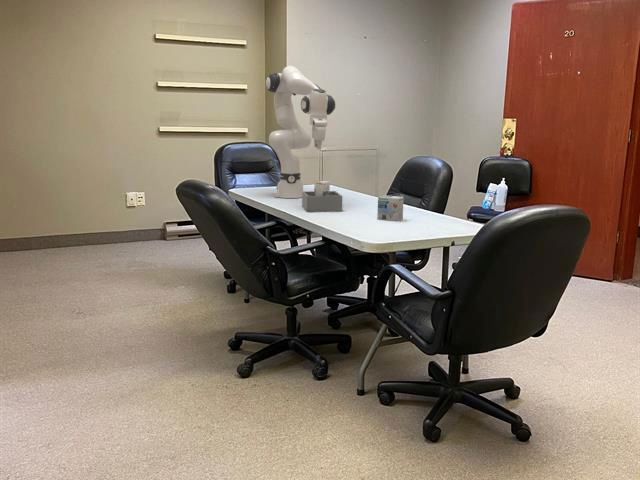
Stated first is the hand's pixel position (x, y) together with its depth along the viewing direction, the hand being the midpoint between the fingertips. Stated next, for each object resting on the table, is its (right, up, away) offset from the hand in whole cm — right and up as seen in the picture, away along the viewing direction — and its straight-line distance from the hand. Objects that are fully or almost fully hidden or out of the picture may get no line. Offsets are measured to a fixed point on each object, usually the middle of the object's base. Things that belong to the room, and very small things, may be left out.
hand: (317, 148), depth 309 cm
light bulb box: (+34, -38, -31) cm, 60 cm away
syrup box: (+2, -32, -3) cm, 32 cm away
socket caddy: (+2, -32, -2) cm, 32 cm away
